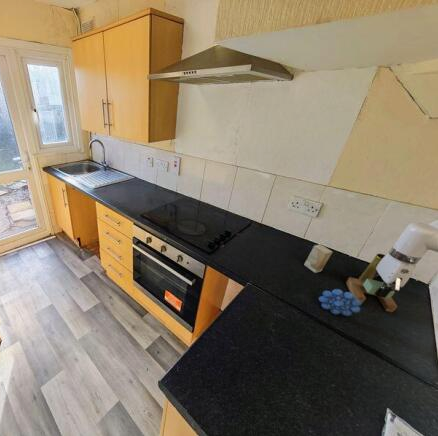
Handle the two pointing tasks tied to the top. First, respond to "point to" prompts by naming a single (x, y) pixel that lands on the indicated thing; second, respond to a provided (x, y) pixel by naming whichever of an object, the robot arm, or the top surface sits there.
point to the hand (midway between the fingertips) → (376, 290)
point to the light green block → (375, 287)
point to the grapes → (340, 302)
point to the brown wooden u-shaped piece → (359, 289)
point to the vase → (371, 268)
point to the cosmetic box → (318, 258)
